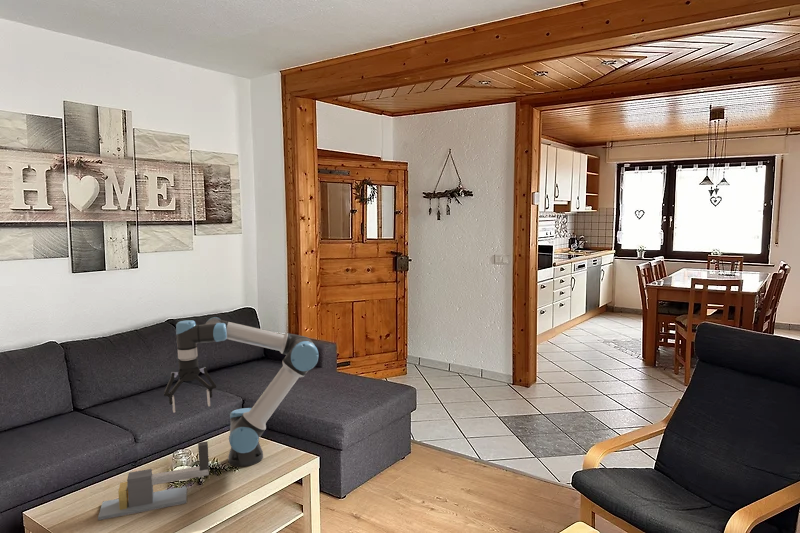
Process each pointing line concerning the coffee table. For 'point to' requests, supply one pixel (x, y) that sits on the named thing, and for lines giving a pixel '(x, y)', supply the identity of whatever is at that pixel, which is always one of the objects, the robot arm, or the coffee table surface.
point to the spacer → (123, 495)
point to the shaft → (188, 472)
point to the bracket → (142, 497)
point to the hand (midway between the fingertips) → (191, 408)
